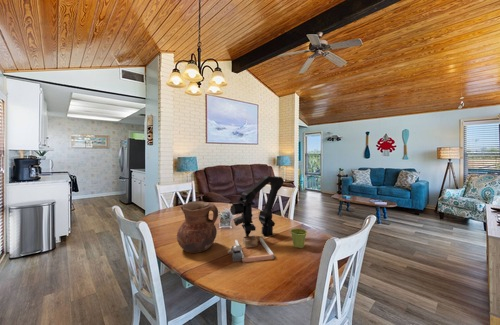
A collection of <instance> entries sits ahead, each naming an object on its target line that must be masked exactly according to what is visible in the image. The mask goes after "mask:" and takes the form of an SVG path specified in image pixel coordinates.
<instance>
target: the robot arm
mask: <svg viewBox="0 0 500 325" xmlns="http://www.w3.org/2000/svg"><path fill="white" fill-rule="evenodd" d="M268 184H270V190H269V194H268V197H267V199H266V203H265V206H264V209H263V210H260V211H259V215H258V220H259V223H260V224H261V234H262V235H263V237H270V236H275V235H274V233H273V232H274V228H273V227H275V224H276V222H275V221H274V220H273V213H272V212H273V207H274V205H275V201H276V198H277V194H278V192H279V190H280V189H281V188H283V184H284V178H283V177H282V176H276V175H274V176H271V175H270V176H269V175H264V176H263V178H261V179H260V180H259V181H258V182H257V183H255V184H254V185H253V186H252V187H251V188H247V189H246V190H244V191H243V192H242V193H241V195H240V197H239V198H238V200H237V202H233V203H232V205H231V206H230V213H231V214H230V215H232V216H237V215H239V216H237V217H235V218H233V219H232V220H233V223H234V225H235V226H236V227H237V226H239V225H241V227H242V229H243V230H244V233H245V237H246V236H250V234H251V232H255V231H256V230H257V229H256V228H257V227H256V225H254V224H253V219H252V218H253V216H254V215H253V206H255V205H256V203H255V202H254V199H256V196H257V194H258V193H260V192H261V190H263V188H265V187H266V186H267V185H268Z"/></svg>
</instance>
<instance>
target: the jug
mask: <svg viewBox="0 0 500 325" xmlns="http://www.w3.org/2000/svg"><path fill="white" fill-rule="evenodd" d="M180 210H181V211H182V213H183V214H184V221H183V223H182V224H181V225H180V226H179V227H178V230H177V232H176V241H177V243H178V245H179V246H180V248H181V249H182V250H184V251H185V252H186V253H189V252H190V254H198V252H199V253H203V252H205V250H206V251H207V250H209V249H210V248H211V246H212V245H213V244H214V242H215V240H216V237H217V234H218V233H217V232H218V230H217V227H216V224H215V223H216V221H217V220H218V217H219V210H218V207H217V206H216V204H215V203H212V202H207V201H202V200H200V201H199V200H193V201H190V202H187V203H183V204H181V205H180ZM210 212H212V213H213V214H212V219H210Z"/></svg>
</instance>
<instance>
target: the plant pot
mask: <svg viewBox="0 0 500 325" xmlns="http://www.w3.org/2000/svg"><path fill="white" fill-rule="evenodd" d="M290 234H291V237H292V246H293V247H294V248H298V249H303V248H304V247H305V244H306V236H307V234H308V231H307V230H306V229H302V228H292V229H290Z"/></svg>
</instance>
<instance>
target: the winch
mask: <svg viewBox="0 0 500 325" xmlns="http://www.w3.org/2000/svg"><path fill="white" fill-rule="evenodd" d="M242 249H243V248H242V245H240V244H239V246H236V245H232V246H231V247H230V250H228V251H227V254H232V255H231V257H232V262H242V259H241V250H242Z"/></svg>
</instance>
